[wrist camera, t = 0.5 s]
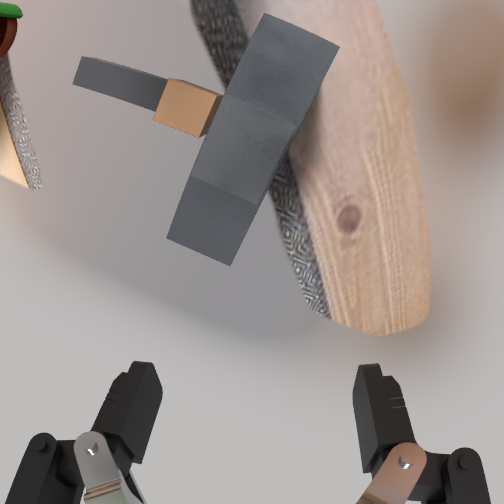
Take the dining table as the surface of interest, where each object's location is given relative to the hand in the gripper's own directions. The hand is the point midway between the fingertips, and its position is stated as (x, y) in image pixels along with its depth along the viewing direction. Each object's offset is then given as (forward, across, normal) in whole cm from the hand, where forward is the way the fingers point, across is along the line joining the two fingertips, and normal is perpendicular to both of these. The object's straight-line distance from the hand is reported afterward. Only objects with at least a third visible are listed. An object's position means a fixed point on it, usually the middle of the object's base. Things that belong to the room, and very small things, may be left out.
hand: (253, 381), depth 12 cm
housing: (+27, +1, -6) cm, 28 cm away
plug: (+27, +13, -12) cm, 33 cm away
